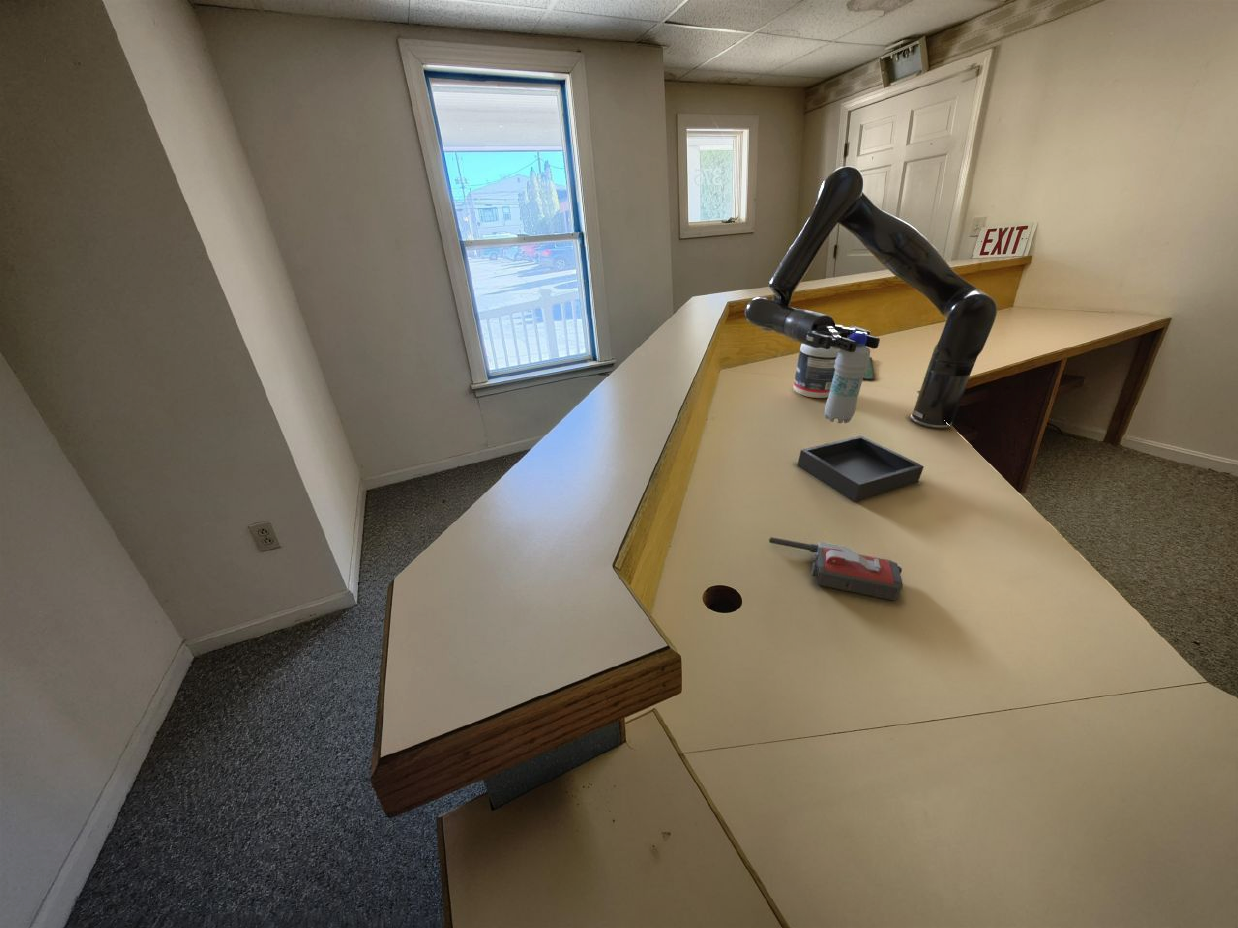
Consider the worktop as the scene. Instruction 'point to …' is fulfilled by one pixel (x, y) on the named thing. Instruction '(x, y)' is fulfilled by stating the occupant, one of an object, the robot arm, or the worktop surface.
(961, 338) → the robot arm
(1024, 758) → the worktop surface
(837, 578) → the walkie-talkie
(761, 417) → the worktop surface
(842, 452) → the tray
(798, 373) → the supplement tub
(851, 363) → the bottle
